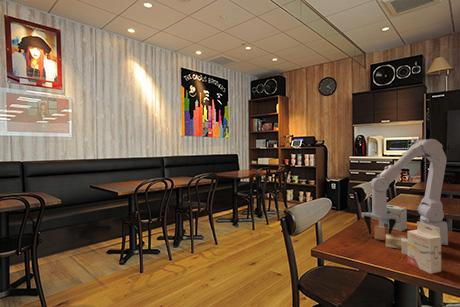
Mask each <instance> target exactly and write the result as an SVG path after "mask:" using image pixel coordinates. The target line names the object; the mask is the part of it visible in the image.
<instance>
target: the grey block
mask: <svg viewBox="0 0 460 307" xmlns="http://www.w3.org/2000/svg"><path fill="white" fill-rule="evenodd" d="M405 238H406V237H405ZM405 238H402V249H401V254H402V255H406V256H408V238H406V239H405Z"/></svg>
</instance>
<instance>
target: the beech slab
mask: <svg viewBox="0 0 460 307" xmlns="http://www.w3.org/2000/svg"><path fill="white" fill-rule="evenodd" d="M402 238H405V239H407V238H406V235H401V234H394V233H391V234H389V233H386V232H385V247H386V248H393V249H399V250H402Z"/></svg>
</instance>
